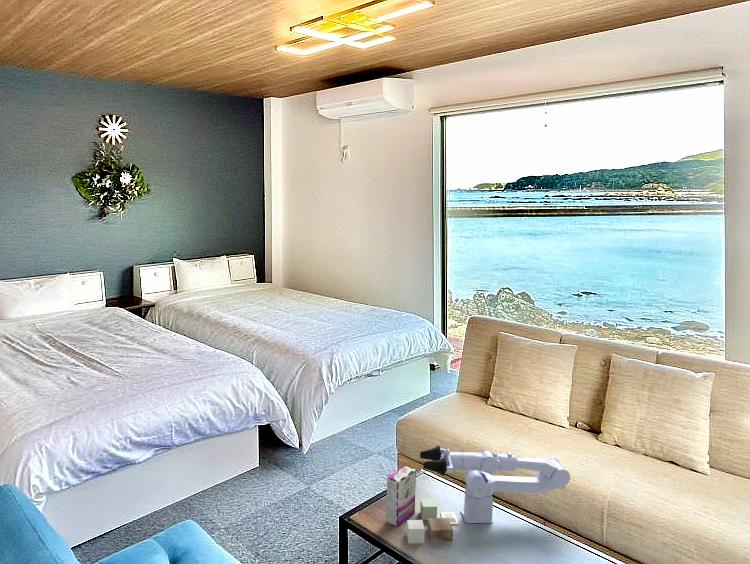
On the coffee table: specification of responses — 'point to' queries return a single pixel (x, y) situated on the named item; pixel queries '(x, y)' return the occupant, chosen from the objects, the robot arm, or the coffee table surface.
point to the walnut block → (440, 529)
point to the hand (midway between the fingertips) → (421, 459)
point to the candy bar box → (400, 495)
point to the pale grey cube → (415, 531)
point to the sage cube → (428, 509)
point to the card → (450, 517)
